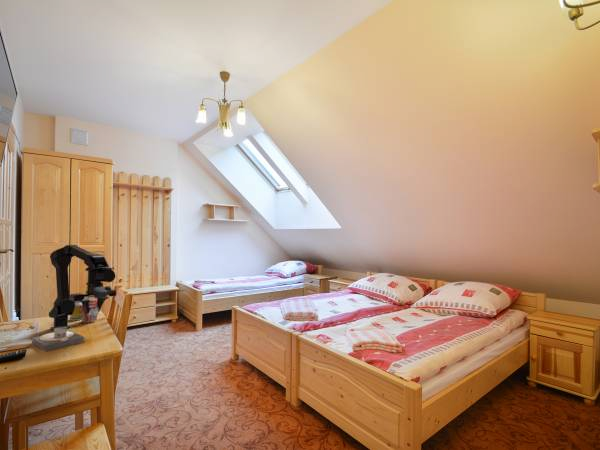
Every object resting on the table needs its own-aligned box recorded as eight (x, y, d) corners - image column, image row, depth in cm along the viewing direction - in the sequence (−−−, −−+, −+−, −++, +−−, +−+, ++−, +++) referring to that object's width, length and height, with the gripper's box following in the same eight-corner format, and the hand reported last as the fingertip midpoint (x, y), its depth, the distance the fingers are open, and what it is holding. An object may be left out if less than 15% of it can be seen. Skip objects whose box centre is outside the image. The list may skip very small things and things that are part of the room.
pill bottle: (76, 321, 171) (77, 300, 171) (66, 320, 172) (67, 299, 173) (86, 318, 177) (87, 297, 178) (77, 317, 179) (78, 296, 179)
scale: (31, 343, 136) (32, 336, 136) (69, 335, 148) (69, 329, 148) (45, 351, 128) (45, 344, 128) (83, 342, 140) (83, 335, 140)
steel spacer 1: (52, 337, 137) (52, 328, 137) (63, 334, 140) (64, 325, 140) (56, 339, 134) (56, 330, 134) (68, 336, 138) (68, 327, 138)
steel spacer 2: (88, 314, 152) (89, 305, 152) (99, 313, 154) (99, 305, 154) (86, 316, 148) (86, 308, 148) (97, 315, 149) (97, 307, 150)
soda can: (86, 319, 174) (87, 298, 175) (99, 319, 175) (100, 298, 175) (78, 323, 167) (79, 300, 168) (92, 323, 168) (93, 301, 168)
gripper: (80, 284, 139) (78, 319, 138) (122, 280, 155) (121, 311, 154) (69, 281, 145) (67, 315, 144) (111, 277, 161) (110, 308, 160)
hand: (92, 312), depth 151 cm, fingers closed on steel spacer 2, 4 cm apart
